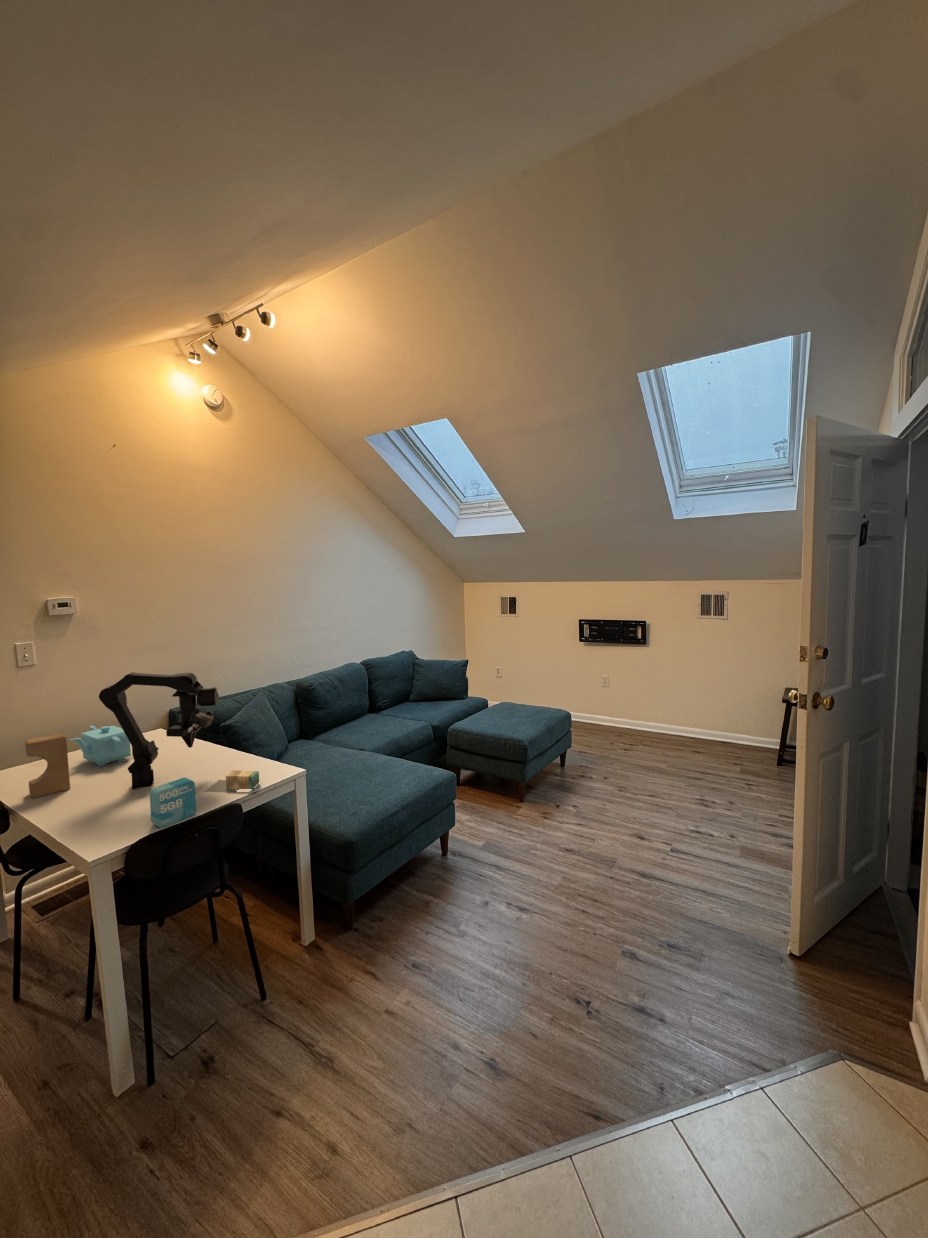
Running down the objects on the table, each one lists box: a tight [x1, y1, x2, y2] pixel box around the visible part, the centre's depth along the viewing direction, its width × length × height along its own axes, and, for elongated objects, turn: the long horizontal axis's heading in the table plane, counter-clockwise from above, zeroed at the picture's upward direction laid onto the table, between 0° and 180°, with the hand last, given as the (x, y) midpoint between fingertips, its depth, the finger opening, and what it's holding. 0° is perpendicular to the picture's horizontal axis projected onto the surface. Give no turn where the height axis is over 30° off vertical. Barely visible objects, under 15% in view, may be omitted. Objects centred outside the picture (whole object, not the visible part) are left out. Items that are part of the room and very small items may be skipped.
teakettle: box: [69, 722, 139, 768], centre depth 213 cm, size 19×19×15 cm
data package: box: [149, 777, 197, 829], centre depth 164 cm, size 12×4×12 cm, turn 146°
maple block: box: [225, 769, 260, 789], centre depth 188 cm, size 5×5×10 cm
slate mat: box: [203, 779, 239, 794], centre depth 188 cm, size 17×10×1 cm, turn 86°
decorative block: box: [24, 732, 71, 799], centre depth 184 cm, size 11×6×20 cm, turn 134°
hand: (190, 747), depth 193 cm, fingers closed
